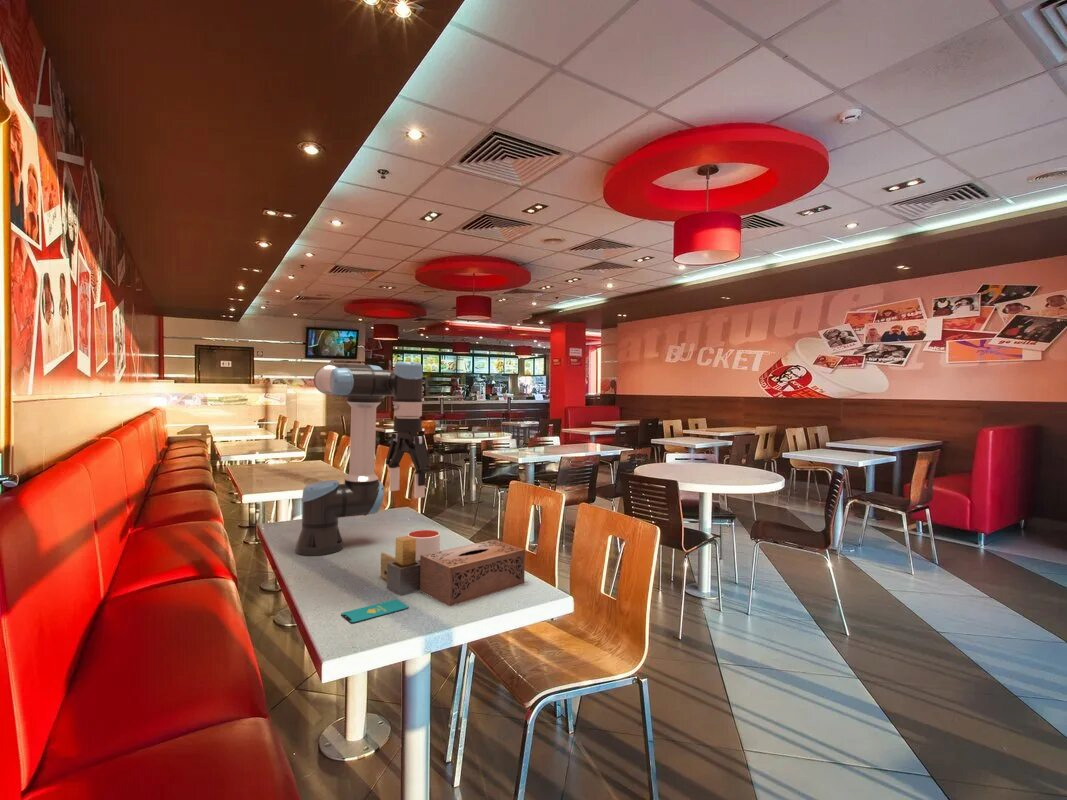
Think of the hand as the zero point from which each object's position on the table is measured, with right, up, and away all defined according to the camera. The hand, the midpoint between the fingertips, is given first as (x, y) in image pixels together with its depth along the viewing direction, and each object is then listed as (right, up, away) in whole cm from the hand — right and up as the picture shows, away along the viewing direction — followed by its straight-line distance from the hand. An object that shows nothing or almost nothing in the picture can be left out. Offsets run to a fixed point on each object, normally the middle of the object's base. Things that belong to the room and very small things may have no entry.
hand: (406, 494), depth 147 cm
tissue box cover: (+18, -27, +2) cm, 33 cm away
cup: (0, -27, +21) cm, 34 cm away
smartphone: (-4, -27, -16) cm, 31 cm away
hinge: (0, -26, +7) cm, 27 cm away
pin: (0, -23, 0) cm, 23 cm away
